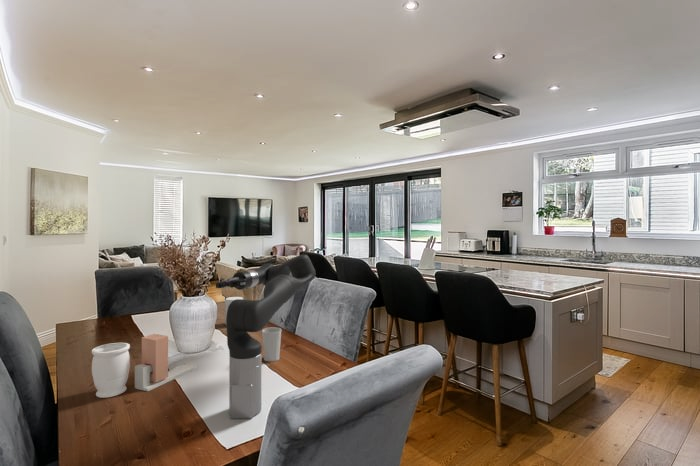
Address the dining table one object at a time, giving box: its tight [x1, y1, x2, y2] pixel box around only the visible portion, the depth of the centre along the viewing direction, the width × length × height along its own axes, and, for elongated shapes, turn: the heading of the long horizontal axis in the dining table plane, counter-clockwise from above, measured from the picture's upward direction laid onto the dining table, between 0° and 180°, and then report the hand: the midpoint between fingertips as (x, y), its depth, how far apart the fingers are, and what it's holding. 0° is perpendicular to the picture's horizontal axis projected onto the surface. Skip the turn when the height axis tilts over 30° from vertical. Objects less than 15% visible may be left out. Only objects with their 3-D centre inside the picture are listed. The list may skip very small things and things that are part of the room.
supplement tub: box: [224, 296, 244, 325], centre depth 204 cm, size 10×10×15 cm
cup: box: [261, 326, 282, 362], centre depth 153 cm, size 8×8×12 cm
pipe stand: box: [134, 351, 197, 392], centre depth 133 cm, size 21×6×8 cm, turn 158°
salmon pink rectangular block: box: [141, 333, 169, 382], centre depth 129 cm, size 5×7×14 cm
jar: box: [91, 342, 131, 399], centre depth 121 cm, size 11×10×15 cm
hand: (217, 285), depth 142 cm, fingers closed
